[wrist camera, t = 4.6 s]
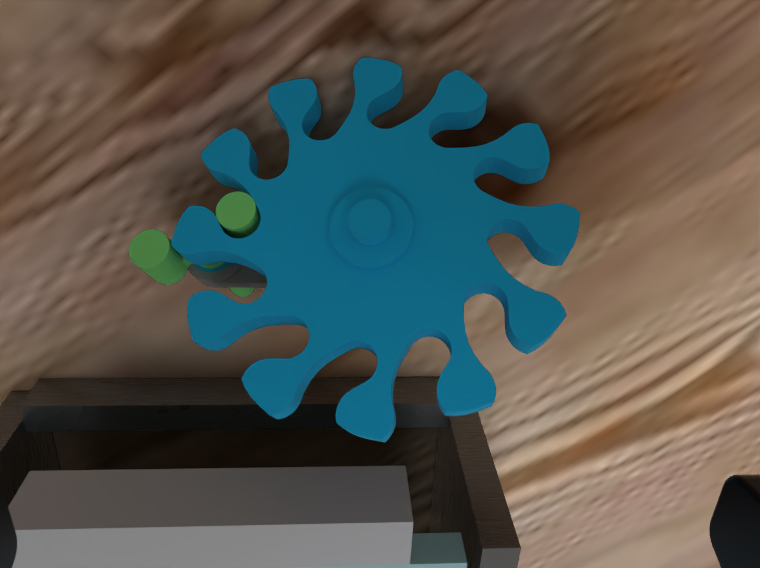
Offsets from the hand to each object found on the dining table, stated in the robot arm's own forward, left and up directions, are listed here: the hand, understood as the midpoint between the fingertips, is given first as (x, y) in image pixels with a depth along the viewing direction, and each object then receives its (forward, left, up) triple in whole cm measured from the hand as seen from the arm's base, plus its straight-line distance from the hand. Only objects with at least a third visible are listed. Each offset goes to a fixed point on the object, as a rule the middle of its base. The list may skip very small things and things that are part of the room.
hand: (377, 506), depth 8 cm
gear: (0, 0, -13) cm, 13 cm away
